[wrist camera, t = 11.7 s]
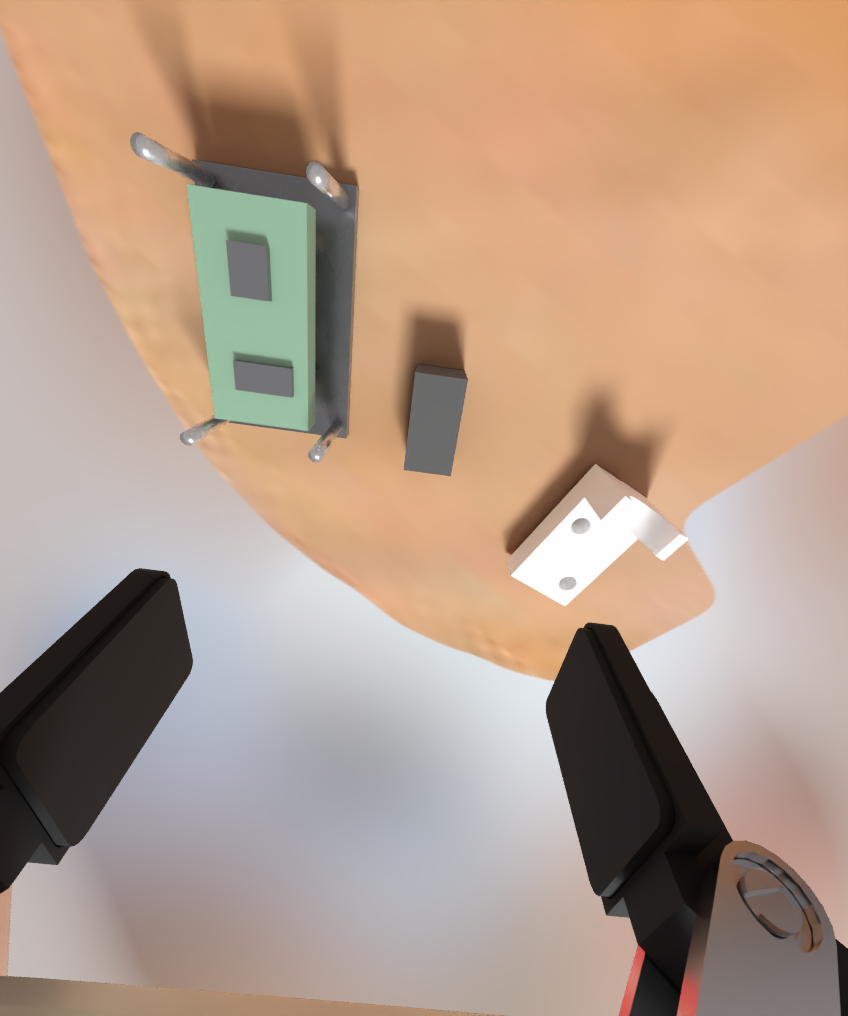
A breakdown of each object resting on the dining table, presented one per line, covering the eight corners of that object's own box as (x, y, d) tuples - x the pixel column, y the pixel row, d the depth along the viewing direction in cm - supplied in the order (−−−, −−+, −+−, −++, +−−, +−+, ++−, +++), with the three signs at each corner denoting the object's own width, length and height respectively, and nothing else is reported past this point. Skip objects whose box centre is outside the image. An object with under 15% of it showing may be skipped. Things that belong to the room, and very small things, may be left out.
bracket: (591, 459, 37) (625, 496, 31) (645, 497, 39) (688, 539, 32) (505, 554, 43) (517, 603, 36) (555, 584, 44) (576, 635, 38)
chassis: (200, 163, 28) (118, 119, 20) (358, 188, 28) (332, 154, 21) (227, 418, 36) (176, 448, 29) (348, 434, 36) (327, 468, 29)
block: (417, 363, 33) (415, 372, 30) (464, 370, 34) (467, 379, 30) (406, 453, 37) (403, 469, 34) (449, 458, 37) (450, 476, 34)
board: (203, 191, 25) (180, 181, 23) (315, 209, 25) (303, 201, 23) (226, 411, 32) (210, 420, 29) (315, 423, 32) (305, 433, 30)
